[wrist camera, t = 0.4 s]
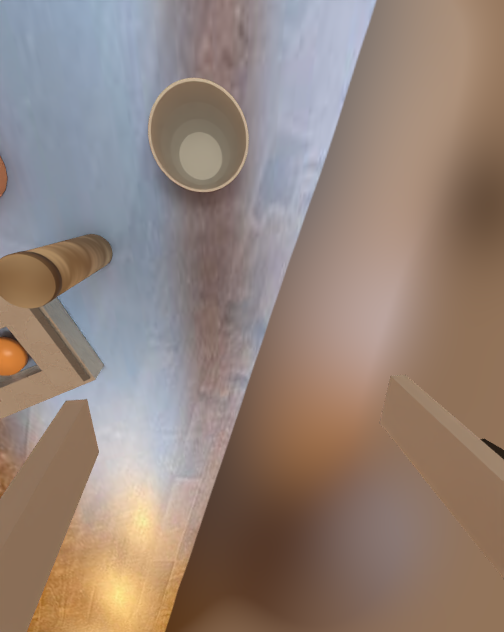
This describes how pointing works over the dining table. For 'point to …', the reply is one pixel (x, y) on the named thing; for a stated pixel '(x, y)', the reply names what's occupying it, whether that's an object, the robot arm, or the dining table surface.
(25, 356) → the button
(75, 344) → the grey square frame
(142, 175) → the dining table surface
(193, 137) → the cup
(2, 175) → the salt shaker
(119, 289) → the dining table surface
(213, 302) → the dining table surface
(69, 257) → the brown wooden cylinder
